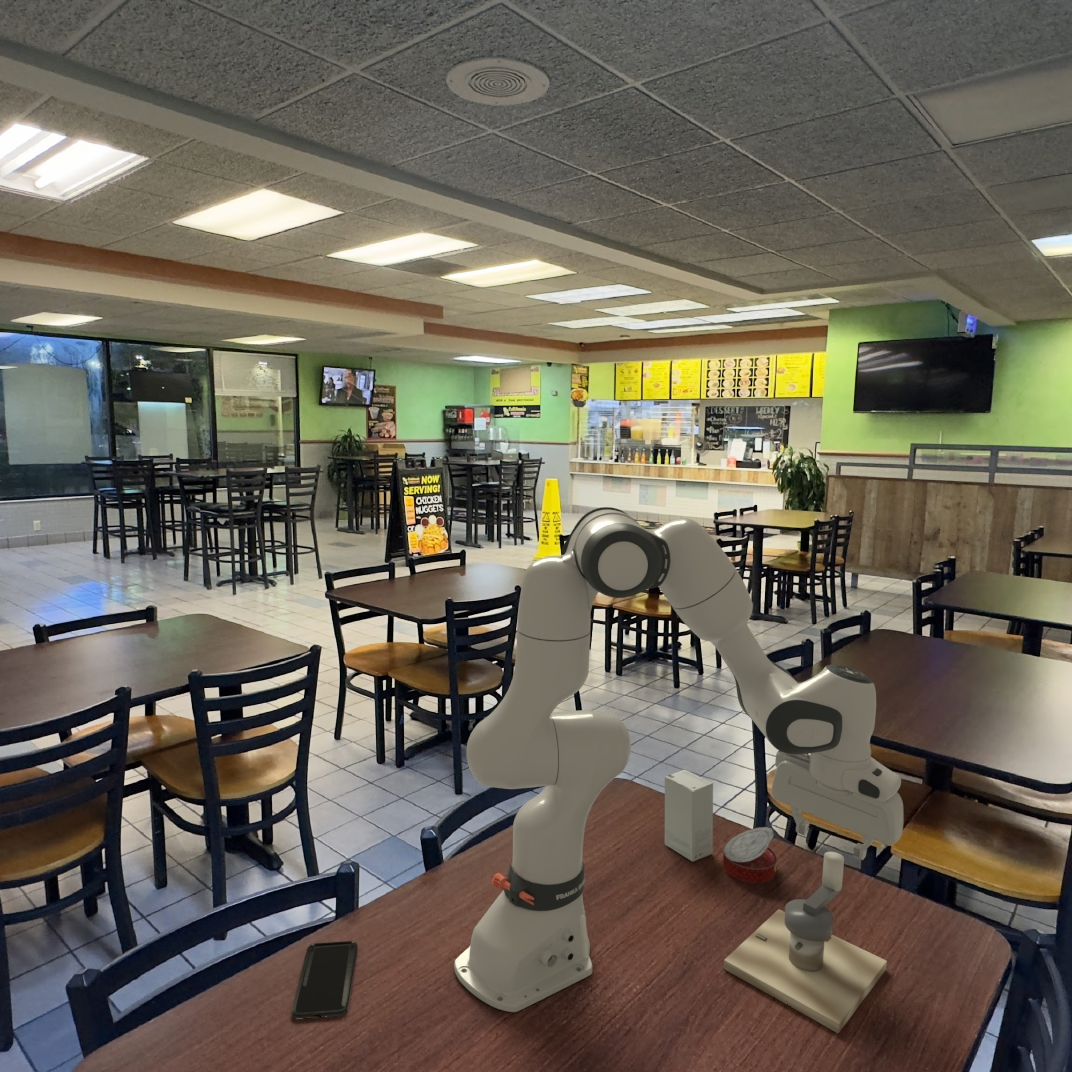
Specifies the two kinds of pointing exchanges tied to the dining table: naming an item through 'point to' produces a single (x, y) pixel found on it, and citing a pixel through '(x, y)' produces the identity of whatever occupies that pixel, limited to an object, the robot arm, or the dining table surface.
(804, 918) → the white knob lever
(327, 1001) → the phone
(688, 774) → the skincare box
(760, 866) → the canned food
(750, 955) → the mount board
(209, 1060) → the dining table surface
